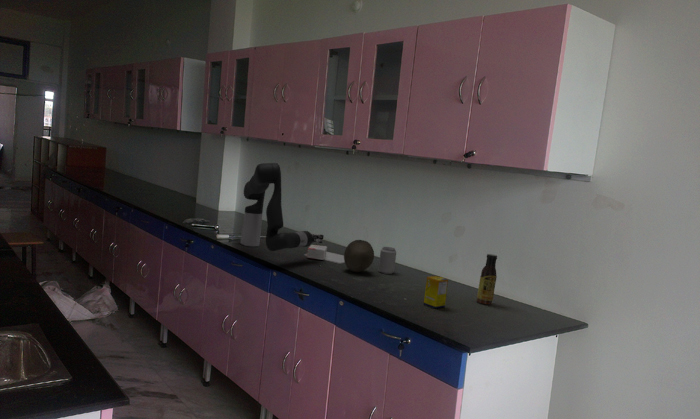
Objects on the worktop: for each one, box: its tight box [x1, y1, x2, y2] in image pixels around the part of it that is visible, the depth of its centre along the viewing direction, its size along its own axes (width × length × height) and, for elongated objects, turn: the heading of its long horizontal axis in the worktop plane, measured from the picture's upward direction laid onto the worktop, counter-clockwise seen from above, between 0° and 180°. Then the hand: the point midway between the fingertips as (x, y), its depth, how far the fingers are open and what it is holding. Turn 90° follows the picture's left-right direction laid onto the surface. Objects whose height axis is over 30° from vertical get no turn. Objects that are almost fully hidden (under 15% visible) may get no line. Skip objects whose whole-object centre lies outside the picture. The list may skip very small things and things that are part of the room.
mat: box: [303, 251, 345, 265], centre depth 276 cm, size 22×18×1 cm
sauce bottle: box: [476, 253, 498, 306], centre depth 216 cm, size 6×6×20 cm
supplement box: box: [423, 275, 449, 309], centre depth 204 cm, size 6×6×11 cm
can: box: [377, 246, 397, 275], centre depth 254 cm, size 8×8×12 cm
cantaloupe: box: [343, 239, 375, 273], centre depth 247 cm, size 14×14×15 cm
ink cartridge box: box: [306, 244, 328, 261], centre depth 272 cm, size 9×5×15 cm
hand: (322, 236), depth 266 cm, fingers closed
